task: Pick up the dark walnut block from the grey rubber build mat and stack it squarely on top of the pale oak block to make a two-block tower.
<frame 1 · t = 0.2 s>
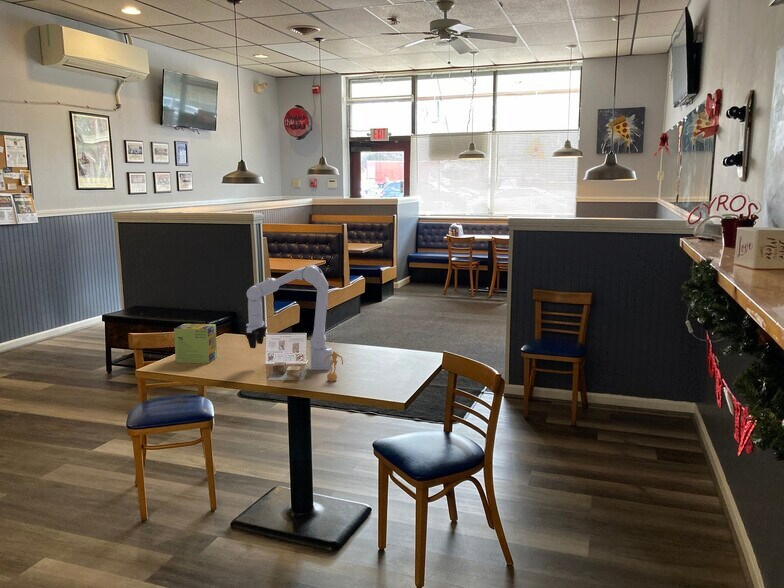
hand: (256, 345, 259), 10 cm above the table, fingers open, 7 cm apart
walnut block: (279, 373, 252), point 1 cm above the table, touching build mat
oak block: (294, 377, 246), point 1 cm above the table, touching build mat
protein box: (196, 360, 273), on the table
build mat: (287, 376, 249), on the table
figurine: (333, 381, 244), on the table
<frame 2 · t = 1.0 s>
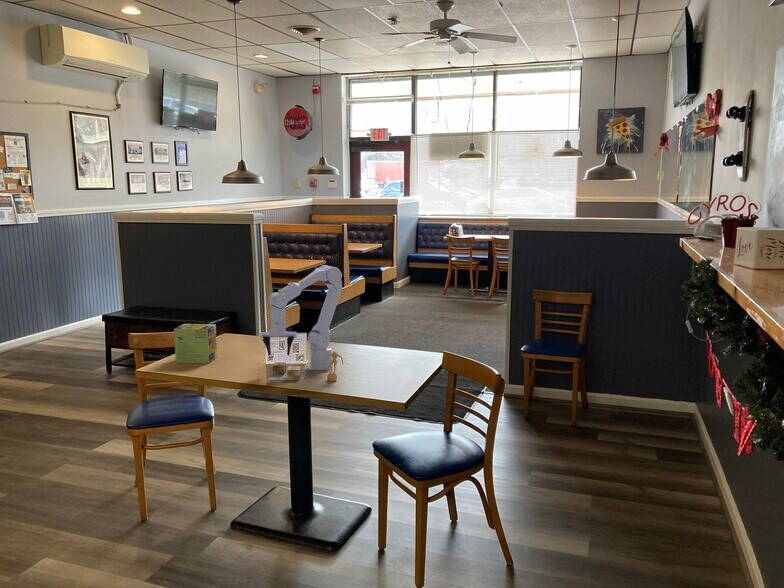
hand: (279, 354, 251), 8 cm above the table, fingers open, 7 cm apart
nothing on the table moved.
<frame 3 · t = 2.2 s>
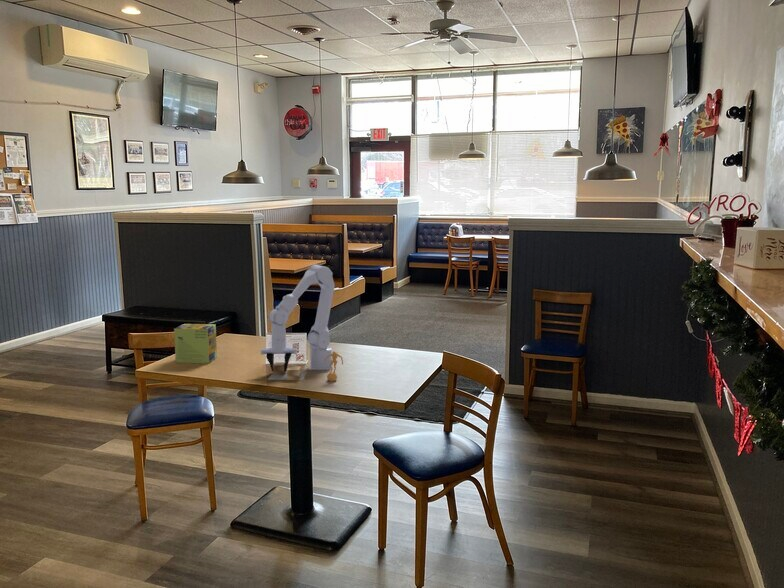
hand: (279, 370, 252), 2 cm above the table, fingers closed on walnut block, 5 cm apart
walnut block: (279, 373, 252), point 1 cm above the table, touching build mat, gripper
everything else where it was.
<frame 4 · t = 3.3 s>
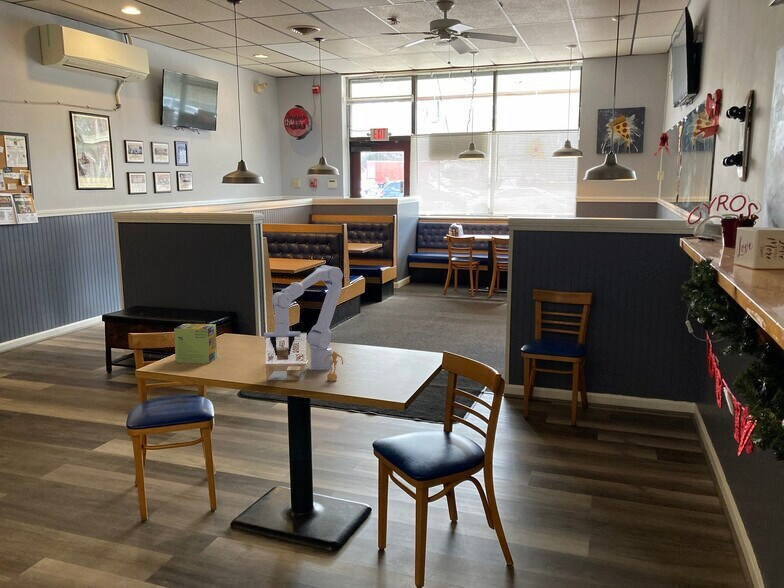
hand: (282, 354, 249), 9 cm above the table, fingers closed on walnut block, 4 cm apart
walnut block: (282, 358, 250), point 7 cm above the table, touching gripper
everything else where it was.
when the fingers open (7 cm above the table, at t = 4.6 s): walnut block stays where it is, resting on oak block.
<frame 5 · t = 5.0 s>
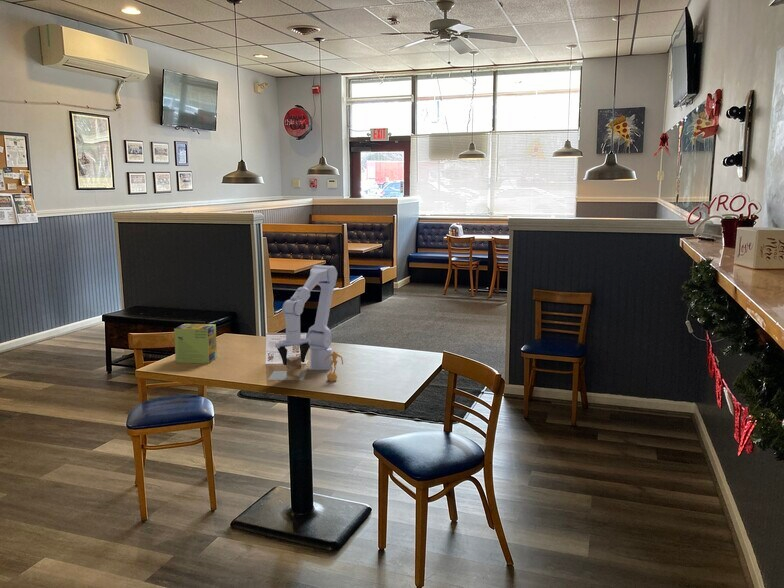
hand: (293, 363, 245), 7 cm above the table, fingers open, 7 cm apart
walnut block: (293, 368, 246), point 5 cm above the table, touching oak block
oak block: (294, 377, 246), point 1 cm above the table, touching build mat, walnut block
everything else where it was.
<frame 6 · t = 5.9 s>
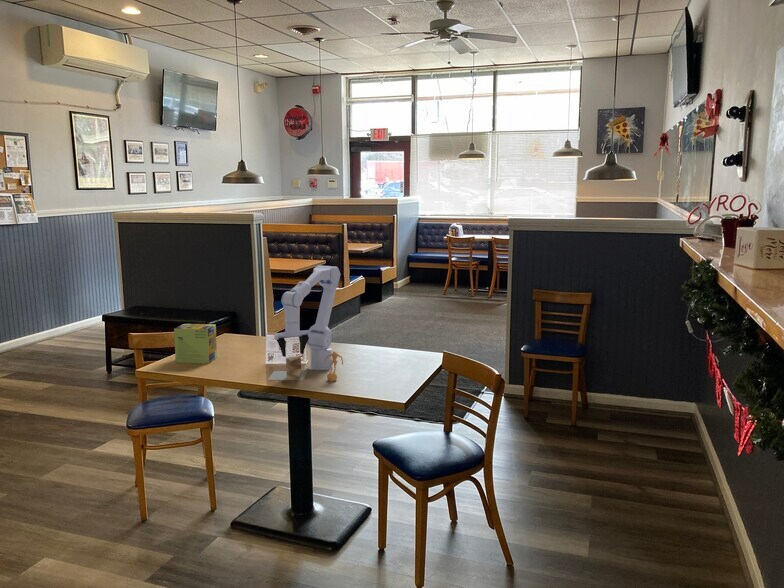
hand: (293, 354, 245), 10 cm above the table, fingers open, 7 cm apart
nothing on the table moved.
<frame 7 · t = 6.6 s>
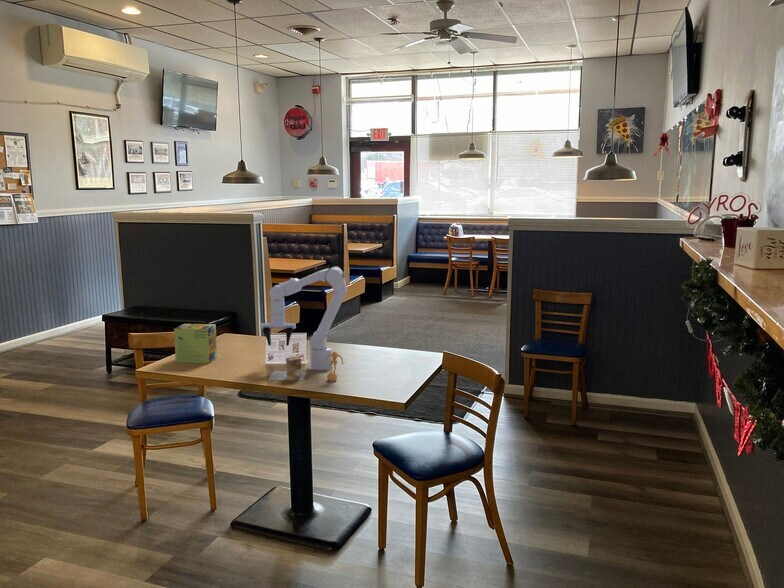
hand: (278, 345, 261), 10 cm above the table, fingers open, 7 cm apart
nothing on the table moved.
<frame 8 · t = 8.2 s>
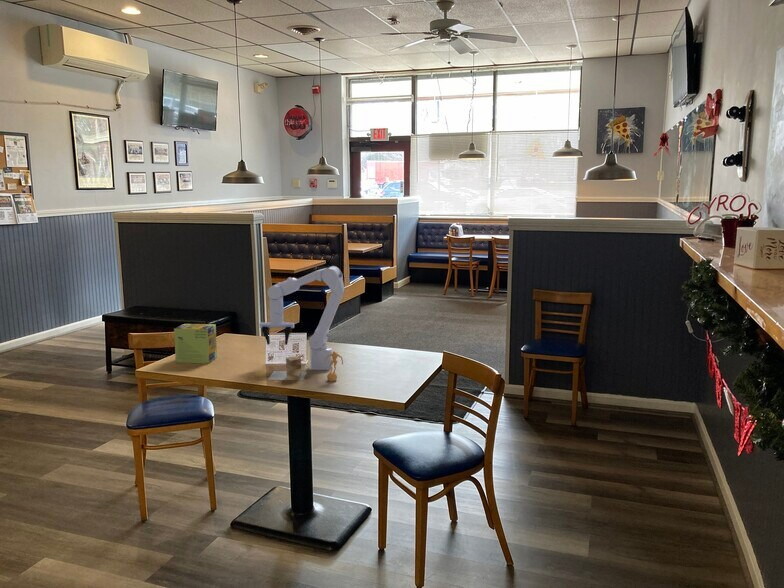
hand: (277, 344, 263), 10 cm above the table, fingers open, 7 cm apart
nothing on the table moved.
at the end: walnut block 0.1 cm off-centre on the oak block, point 4.0 cm above the oak block's base; walnut block tilted 0°; oak block moved 0.0 cm from its start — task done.
